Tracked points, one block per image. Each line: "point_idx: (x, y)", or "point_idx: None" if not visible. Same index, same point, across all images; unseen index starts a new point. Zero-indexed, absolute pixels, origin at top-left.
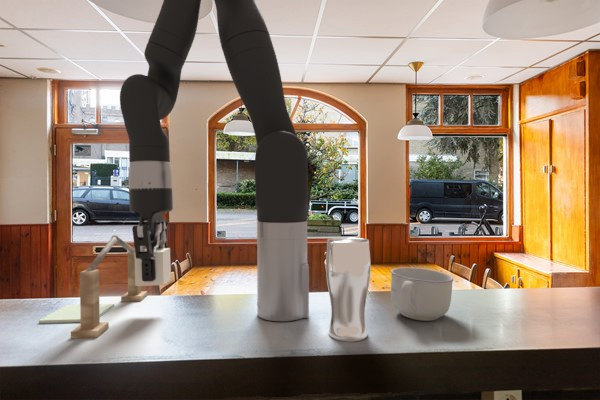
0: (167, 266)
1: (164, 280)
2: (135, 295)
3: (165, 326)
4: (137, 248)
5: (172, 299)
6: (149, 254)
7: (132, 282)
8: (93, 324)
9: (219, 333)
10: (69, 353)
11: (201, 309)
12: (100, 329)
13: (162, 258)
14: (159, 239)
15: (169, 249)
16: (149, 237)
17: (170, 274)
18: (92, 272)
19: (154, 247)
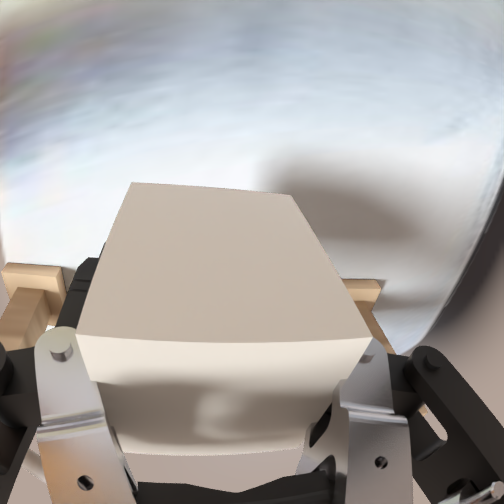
0: (206, 234)
1: (279, 202)
2: (51, 294)
3: (362, 134)
4: (435, 434)
5: (37, 164)
6: (450, 364)
7: (35, 334)
8: (367, 308)
9: (449, 6)
10: (425, 293)
11: (198, 16)
12: (368, 287)
13: (347, 297)
14: (181, 488)
15: (104, 326)
16: (497, 456)
17: (134, 195)
18: (426, 412)
19: (386, 410)
